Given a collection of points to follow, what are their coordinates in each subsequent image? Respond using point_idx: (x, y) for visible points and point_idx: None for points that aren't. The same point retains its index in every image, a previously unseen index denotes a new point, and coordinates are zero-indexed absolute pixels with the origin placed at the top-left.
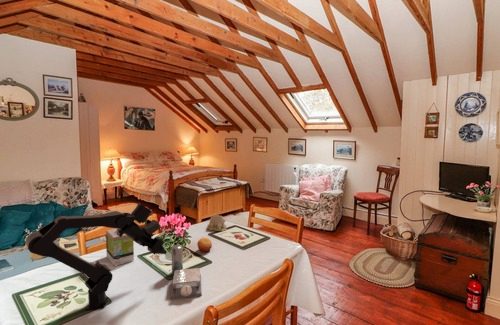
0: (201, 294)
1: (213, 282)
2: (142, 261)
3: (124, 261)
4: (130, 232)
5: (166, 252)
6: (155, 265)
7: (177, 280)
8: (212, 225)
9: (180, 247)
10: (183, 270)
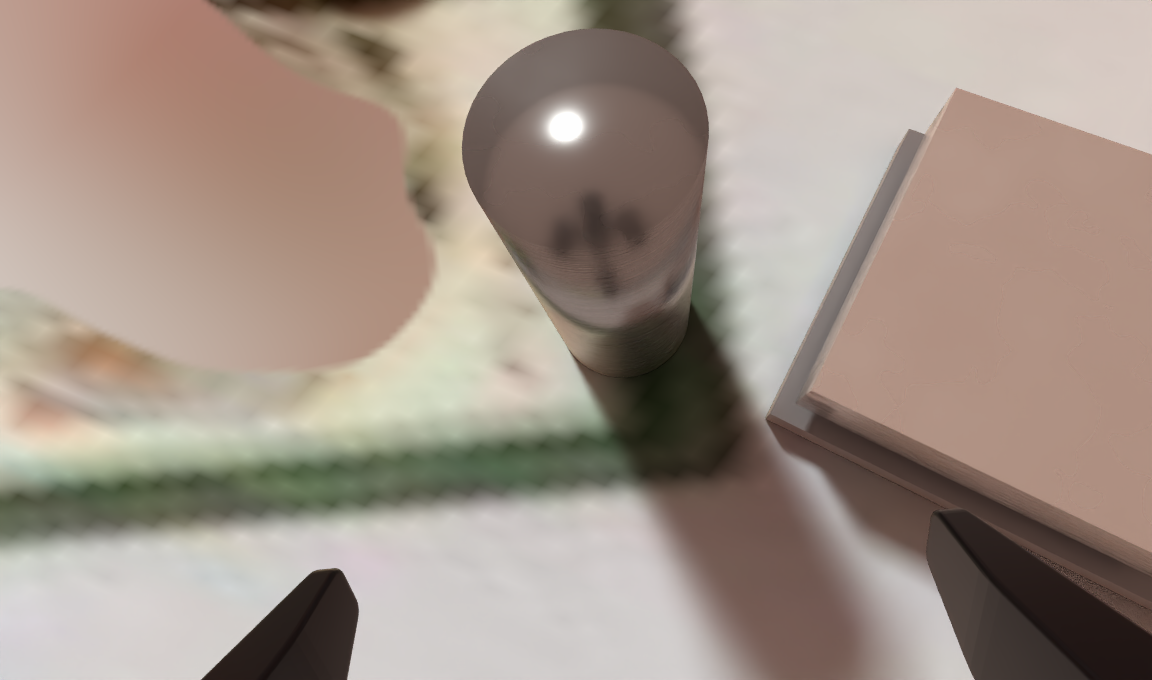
0: None
1: (1106, 87)
2: (74, 551)
3: None
4: None
5: (959, 520)
6: (285, 460)
7: None
8: None
9: (664, 84)
10: (898, 291)
